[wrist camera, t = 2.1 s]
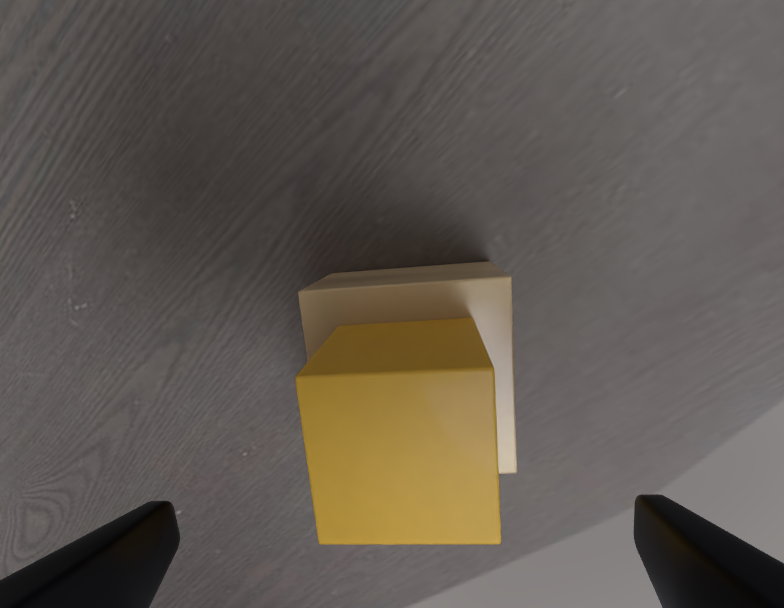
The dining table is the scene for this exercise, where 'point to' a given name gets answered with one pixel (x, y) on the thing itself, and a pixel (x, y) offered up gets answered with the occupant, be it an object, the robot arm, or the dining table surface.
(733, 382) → the dining table surface
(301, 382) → the mustard cube
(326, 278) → the birch block
